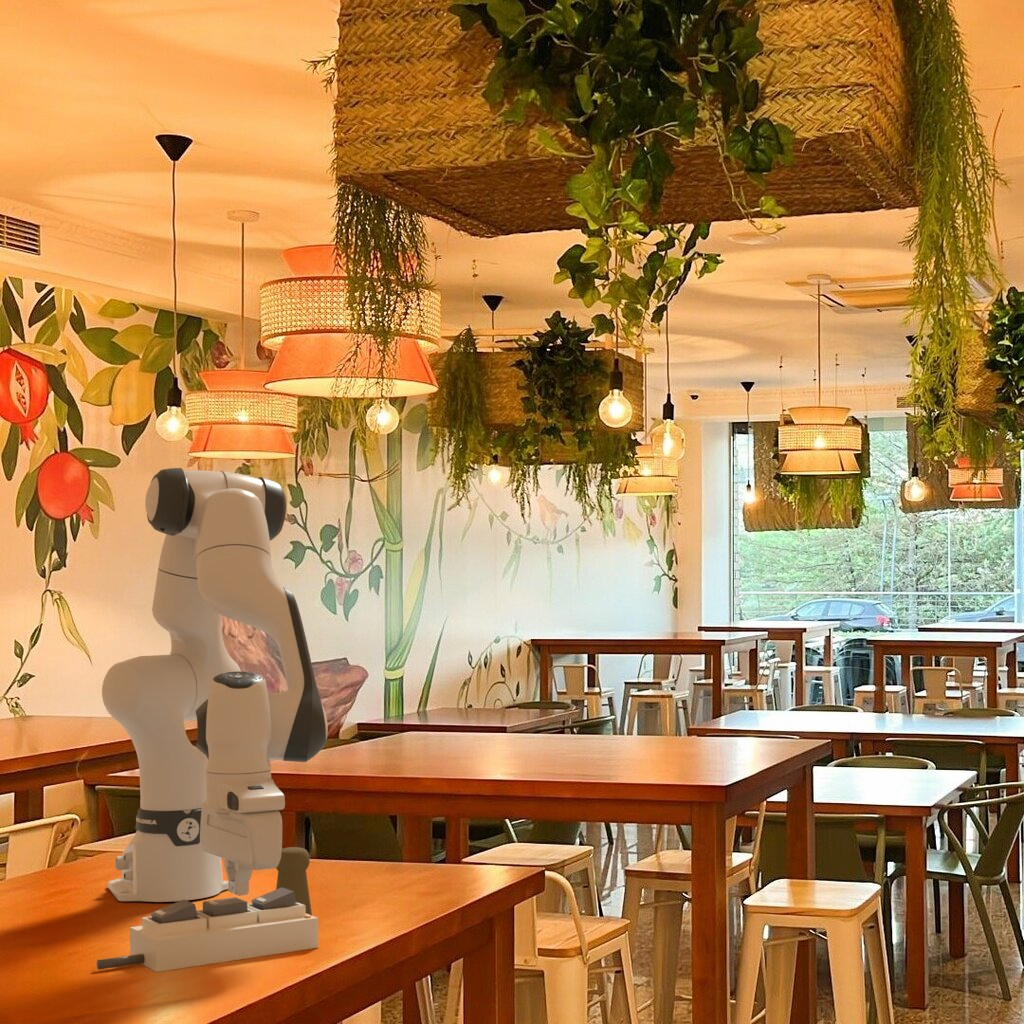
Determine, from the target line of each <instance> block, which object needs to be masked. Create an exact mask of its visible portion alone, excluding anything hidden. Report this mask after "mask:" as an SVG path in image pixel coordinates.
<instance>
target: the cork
mask: <svg viewBox="0 0 1024 1024" xmlns="http://www.w3.org/2000/svg"><path fill="white" fill-rule="evenodd" d="M310 859H311V858H310V853H309V852H308V850H307V849H305V848H303V847H298V846H291V847H290V846H289V847H285V848H284V847H282V851H281V859H280V862H279V864H278V866H277V868H275V869H276V870H277V878H276V888H275V890H277V889H279V888H281V887H283V888H286V889H288V890H291V891H294V893H295V897H296V901H297V902H298V903H301V904H303V905H305V906H306V914H309V915H311V916H313V913H312V905H311V899H310V889H309V884H308V883H309V882H308V877H307V875H308V874H307V869H308V868H309V866H310V863H311V861H310Z"/></svg>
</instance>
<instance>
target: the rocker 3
mask: <svg viewBox="0 0 1024 1024" xmlns="http://www.w3.org/2000/svg"><path fill="white" fill-rule="evenodd" d="M295 903H297V901H296V897H295V893H294V891H291V890H288V889H286V888H283V887H281V888H279V889H277V890H276V889H274V890H273V891H270V892H267V893H265V894H263V895H259V896H257V897H256V898H253V899H251V904H252V905H253V907H254V908H257V909H260V910H268V909H275V908H283V907H288V906H290V905H292V904H295Z"/></svg>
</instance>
